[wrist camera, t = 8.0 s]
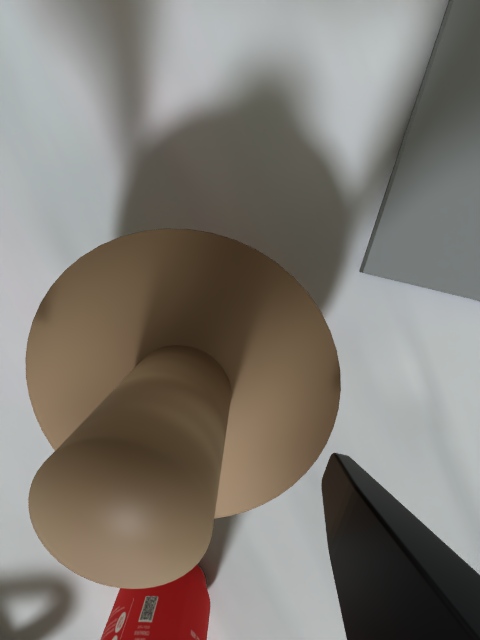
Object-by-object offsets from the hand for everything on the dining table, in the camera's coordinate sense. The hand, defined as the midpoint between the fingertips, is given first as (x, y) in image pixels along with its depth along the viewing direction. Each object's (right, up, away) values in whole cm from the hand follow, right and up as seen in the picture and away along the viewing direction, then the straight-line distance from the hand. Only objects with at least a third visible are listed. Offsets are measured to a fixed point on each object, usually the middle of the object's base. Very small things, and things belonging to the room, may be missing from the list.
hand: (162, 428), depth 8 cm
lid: (0, +1, +2) cm, 3 cm away
